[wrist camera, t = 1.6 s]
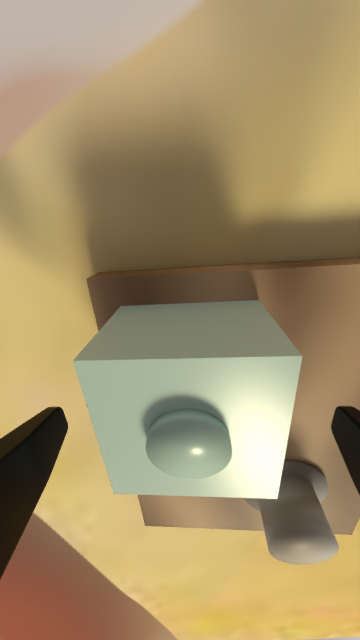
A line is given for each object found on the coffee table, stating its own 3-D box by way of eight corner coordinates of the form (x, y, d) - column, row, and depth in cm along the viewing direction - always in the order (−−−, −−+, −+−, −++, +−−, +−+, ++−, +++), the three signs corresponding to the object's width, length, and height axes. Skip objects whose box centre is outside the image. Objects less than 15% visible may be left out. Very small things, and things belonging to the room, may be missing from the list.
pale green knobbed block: (258, 300, 9) (310, 366, 5) (250, 407, 11) (281, 512, 7) (120, 306, 9) (64, 370, 5) (139, 407, 12) (110, 507, 8)
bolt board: (440, 252, 9) (611, 276, 5) (341, 513, 16) (383, 599, 12) (98, 272, 10) (42, 302, 6) (148, 506, 17) (135, 582, 14)
